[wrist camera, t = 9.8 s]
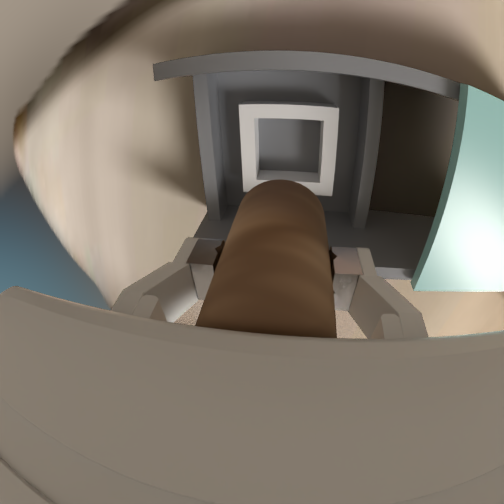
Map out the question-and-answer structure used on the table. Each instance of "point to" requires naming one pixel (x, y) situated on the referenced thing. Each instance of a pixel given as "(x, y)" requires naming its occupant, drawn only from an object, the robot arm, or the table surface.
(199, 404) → the robot arm
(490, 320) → the table surface
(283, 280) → the tan rounded cylinder
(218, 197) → the housing
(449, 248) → the lid
